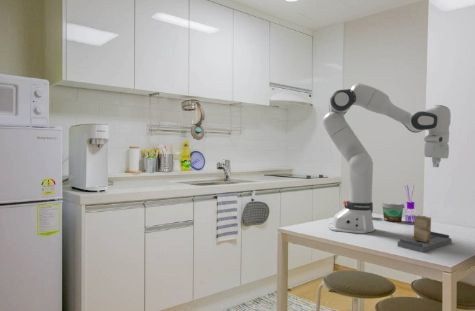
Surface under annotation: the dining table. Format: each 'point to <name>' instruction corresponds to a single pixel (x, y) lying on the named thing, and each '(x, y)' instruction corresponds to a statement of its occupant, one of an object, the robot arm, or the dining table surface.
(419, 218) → the fader knob
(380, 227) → the dining table surface
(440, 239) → the fader track
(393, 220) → the food container
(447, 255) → the dining table surface
